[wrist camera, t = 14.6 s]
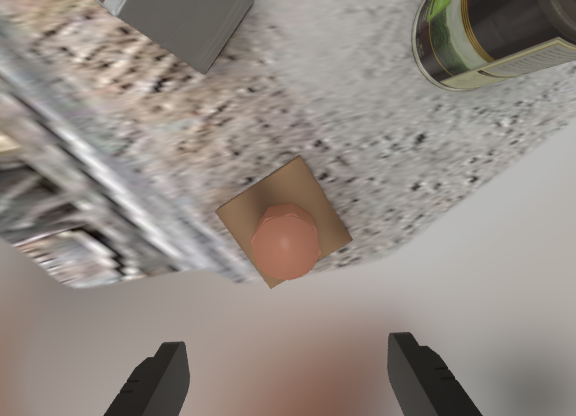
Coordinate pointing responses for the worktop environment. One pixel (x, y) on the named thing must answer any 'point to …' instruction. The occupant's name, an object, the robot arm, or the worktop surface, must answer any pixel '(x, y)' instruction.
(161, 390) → the robot arm
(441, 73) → the coffee can
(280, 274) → the cap
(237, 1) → the skincare box
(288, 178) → the peg block
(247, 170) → the worktop surface
